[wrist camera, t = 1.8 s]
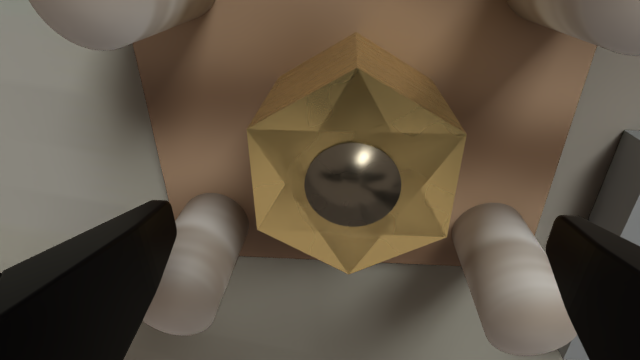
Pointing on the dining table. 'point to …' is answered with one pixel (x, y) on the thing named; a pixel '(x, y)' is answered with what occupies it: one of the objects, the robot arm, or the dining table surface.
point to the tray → (616, 208)
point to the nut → (354, 157)
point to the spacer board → (412, 48)
